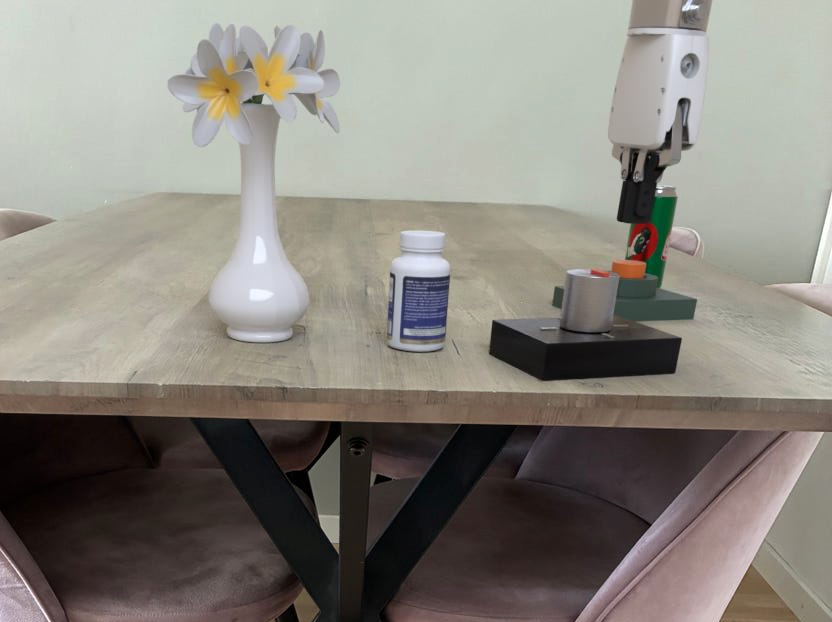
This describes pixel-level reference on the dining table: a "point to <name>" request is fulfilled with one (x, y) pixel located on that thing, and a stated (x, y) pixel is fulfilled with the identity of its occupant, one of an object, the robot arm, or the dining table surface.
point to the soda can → (654, 234)
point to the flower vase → (256, 162)
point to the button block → (644, 301)
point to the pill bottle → (418, 293)
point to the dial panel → (583, 349)
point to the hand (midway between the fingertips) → (632, 222)
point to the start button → (629, 268)
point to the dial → (589, 300)
